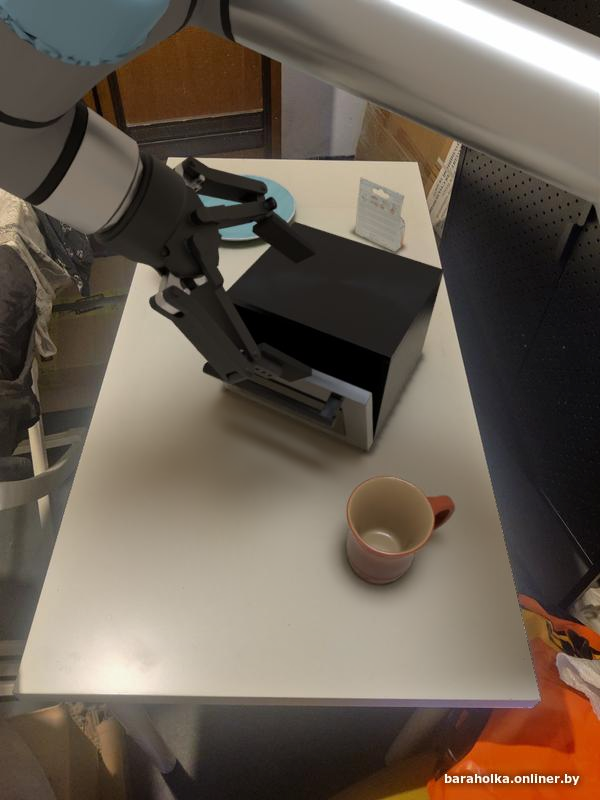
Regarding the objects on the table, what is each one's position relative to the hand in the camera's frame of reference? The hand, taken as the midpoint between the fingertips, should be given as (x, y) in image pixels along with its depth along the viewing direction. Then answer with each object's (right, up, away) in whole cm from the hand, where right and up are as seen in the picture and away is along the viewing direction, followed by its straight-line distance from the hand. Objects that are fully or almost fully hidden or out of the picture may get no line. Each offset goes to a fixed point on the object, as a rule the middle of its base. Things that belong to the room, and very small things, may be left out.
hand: (303, 313), depth 54 cm
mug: (+10, -26, +8) cm, 29 cm away
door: (-2, -12, +20) cm, 23 cm away
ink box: (+14, +21, +47) cm, 53 cm away
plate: (-12, +27, +51) cm, 59 cm away
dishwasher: (+4, -4, +26) cm, 27 cm away
